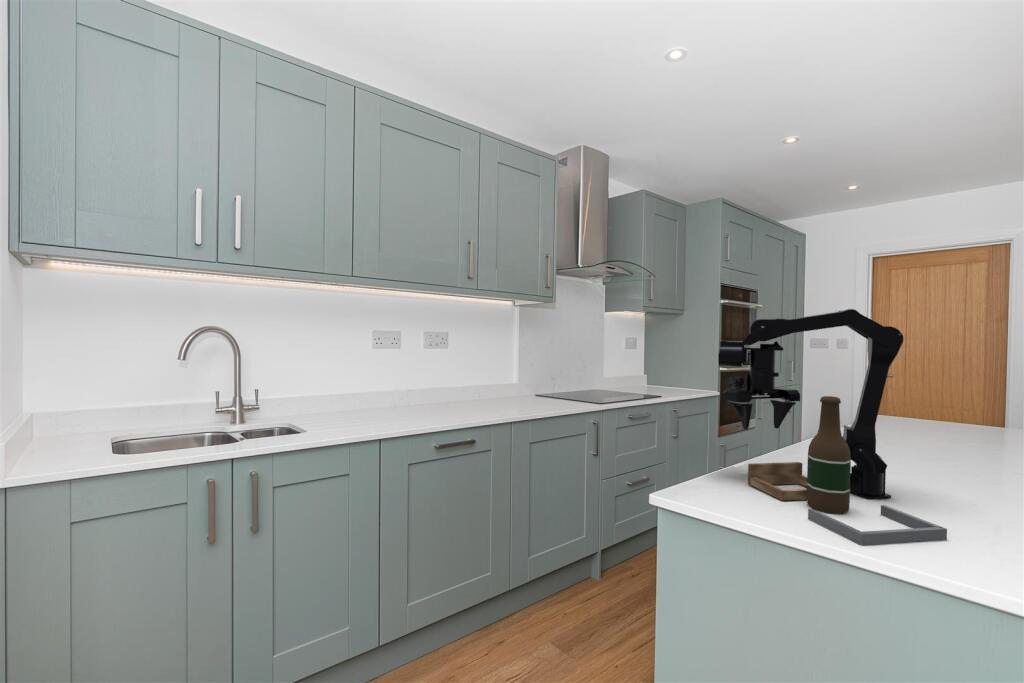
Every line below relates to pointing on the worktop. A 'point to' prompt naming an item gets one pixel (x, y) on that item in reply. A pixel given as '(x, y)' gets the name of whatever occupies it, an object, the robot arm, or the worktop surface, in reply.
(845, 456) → the beer bottle
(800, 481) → the brown wooden frame
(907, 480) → the worktop surface
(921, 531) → the tray bay
